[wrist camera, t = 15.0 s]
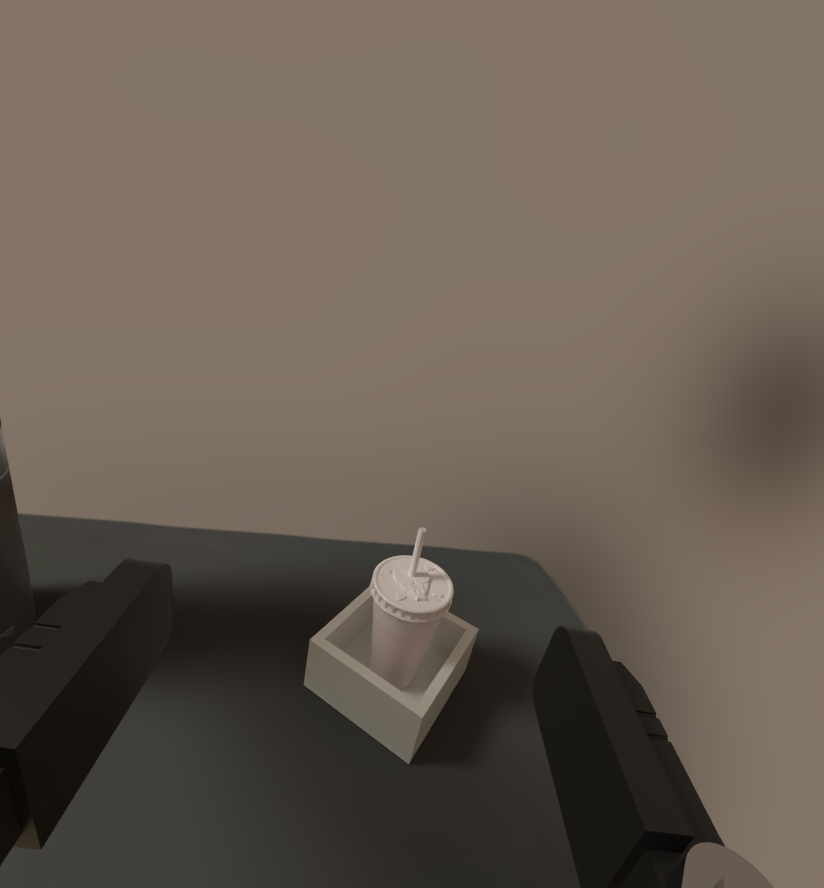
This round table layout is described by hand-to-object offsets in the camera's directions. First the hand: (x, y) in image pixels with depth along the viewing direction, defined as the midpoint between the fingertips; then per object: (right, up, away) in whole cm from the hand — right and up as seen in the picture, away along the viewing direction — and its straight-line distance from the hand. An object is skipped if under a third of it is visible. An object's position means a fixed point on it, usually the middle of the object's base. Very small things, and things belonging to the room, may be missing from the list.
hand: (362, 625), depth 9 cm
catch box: (-1, -16, +29) cm, 33 cm away
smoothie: (-1, -16, +29) cm, 33 cm away
